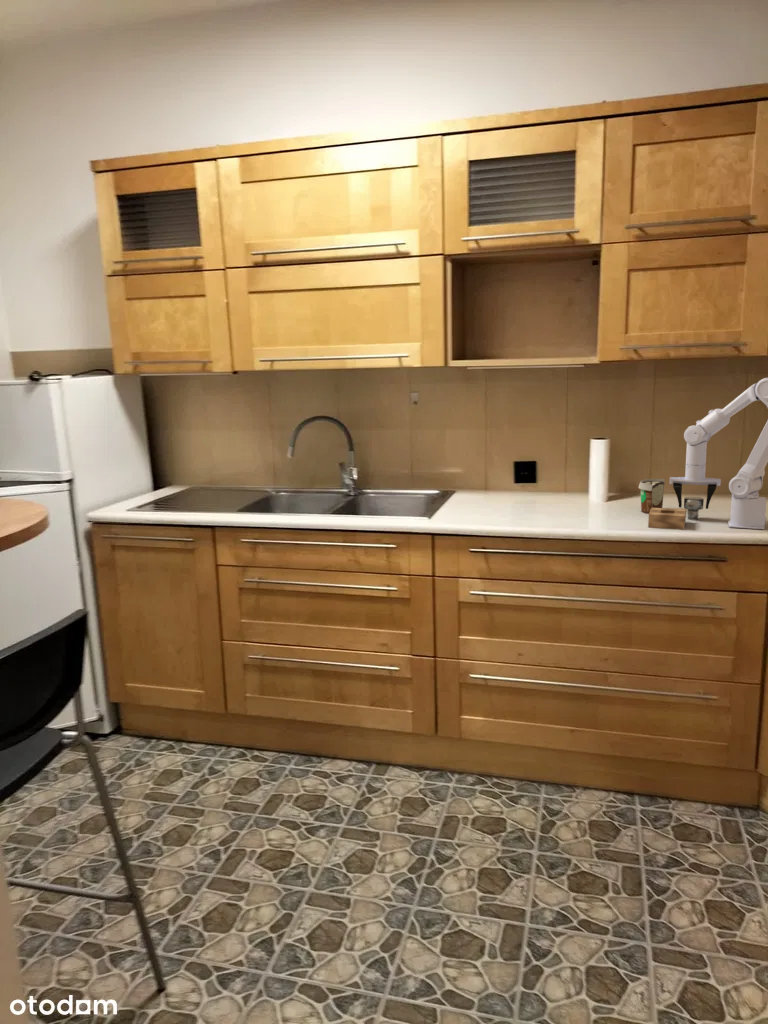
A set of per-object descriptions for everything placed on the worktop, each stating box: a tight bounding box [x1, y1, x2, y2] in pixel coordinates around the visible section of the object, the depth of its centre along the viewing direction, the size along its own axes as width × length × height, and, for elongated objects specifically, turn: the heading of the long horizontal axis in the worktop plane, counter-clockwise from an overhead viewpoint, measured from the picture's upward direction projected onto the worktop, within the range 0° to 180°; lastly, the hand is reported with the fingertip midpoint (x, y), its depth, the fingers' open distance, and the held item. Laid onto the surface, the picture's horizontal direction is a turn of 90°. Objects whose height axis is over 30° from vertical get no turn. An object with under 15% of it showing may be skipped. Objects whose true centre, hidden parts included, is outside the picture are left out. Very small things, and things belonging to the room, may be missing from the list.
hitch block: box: [647, 507, 687, 530], centre depth 225 cm, size 10×10×4 cm
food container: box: [638, 478, 666, 515], centre depth 244 cm, size 12×6×10 cm, turn 141°
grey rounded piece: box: [683, 496, 705, 521], centre depth 231 cm, size 6×6×6 cm
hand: (693, 507), depth 230 cm, fingers open, 7 cm apart
